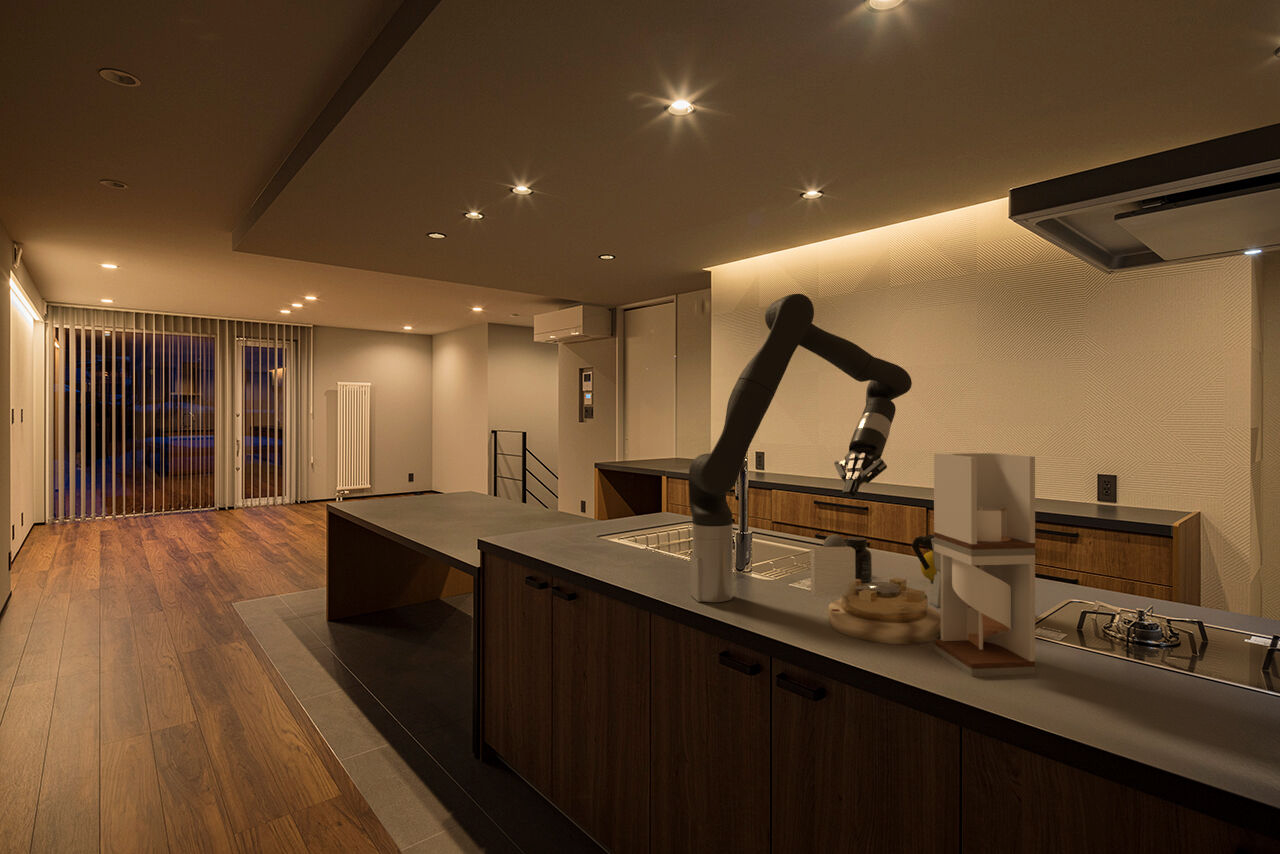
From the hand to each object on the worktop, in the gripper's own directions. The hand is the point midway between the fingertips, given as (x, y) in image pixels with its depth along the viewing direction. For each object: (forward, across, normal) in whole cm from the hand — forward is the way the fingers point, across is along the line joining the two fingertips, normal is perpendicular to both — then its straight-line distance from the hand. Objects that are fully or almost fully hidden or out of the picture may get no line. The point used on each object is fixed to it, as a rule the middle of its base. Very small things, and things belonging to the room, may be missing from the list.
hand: (848, 495), depth 146 cm
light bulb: (+2, -21, +32) cm, 38 cm away
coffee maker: (+10, +13, +28) cm, 32 cm away
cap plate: (+25, +12, +9) cm, 29 cm away
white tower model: (+30, +32, +6) cm, 45 cm away
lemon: (-2, +2, +40) cm, 40 cm away
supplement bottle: (+9, -8, +25) cm, 28 cm away
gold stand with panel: (+24, +10, +5) cm, 27 cm away
